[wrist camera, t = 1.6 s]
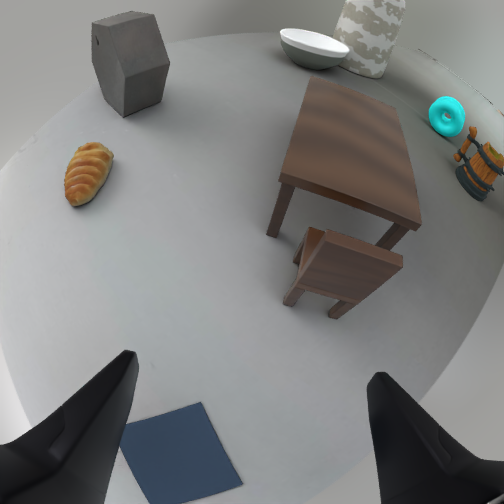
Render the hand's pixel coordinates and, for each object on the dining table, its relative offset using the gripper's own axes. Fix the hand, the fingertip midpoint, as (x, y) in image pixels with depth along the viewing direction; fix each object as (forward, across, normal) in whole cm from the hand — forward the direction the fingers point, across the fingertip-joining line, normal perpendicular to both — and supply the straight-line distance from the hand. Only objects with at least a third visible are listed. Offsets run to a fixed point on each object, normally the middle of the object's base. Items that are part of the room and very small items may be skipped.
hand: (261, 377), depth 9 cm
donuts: (+60, -48, -19) cm, 79 cm away
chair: (+18, -8, +8) cm, 21 cm away
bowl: (+72, -11, -27) cm, 78 cm away
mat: (+2, +4, +18) cm, 18 cm away
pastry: (+28, +22, +2) cm, 36 cm away
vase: (+83, -27, -33) cm, 93 cm away
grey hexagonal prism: (+46, +25, -10) cm, 53 cm away
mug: (+42, -47, -8) cm, 64 cm away
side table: (+31, -11, -1) cm, 33 cm away
